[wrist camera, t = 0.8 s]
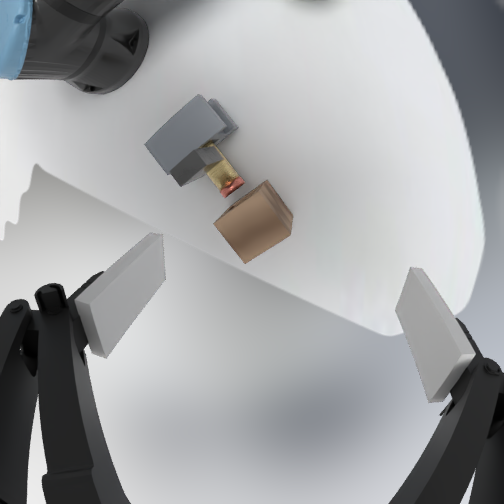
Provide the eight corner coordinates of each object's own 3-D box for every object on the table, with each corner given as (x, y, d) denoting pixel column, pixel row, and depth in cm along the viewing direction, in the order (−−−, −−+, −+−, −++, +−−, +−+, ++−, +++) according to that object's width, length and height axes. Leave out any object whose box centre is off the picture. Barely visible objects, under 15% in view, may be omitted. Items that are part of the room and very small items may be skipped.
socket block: (229, 206, 40) (213, 223, 33) (267, 179, 38) (258, 191, 31) (255, 240, 42) (244, 264, 34) (293, 215, 39) (290, 235, 32)
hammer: (173, 126, 35) (134, 126, 26) (192, 109, 33) (158, 103, 25) (227, 195, 37) (203, 216, 29) (248, 180, 36) (230, 195, 27)
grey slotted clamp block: (168, 141, 38) (144, 144, 32) (216, 100, 35) (198, 94, 28) (188, 167, 39) (167, 175, 33) (238, 127, 36) (224, 126, 29)
